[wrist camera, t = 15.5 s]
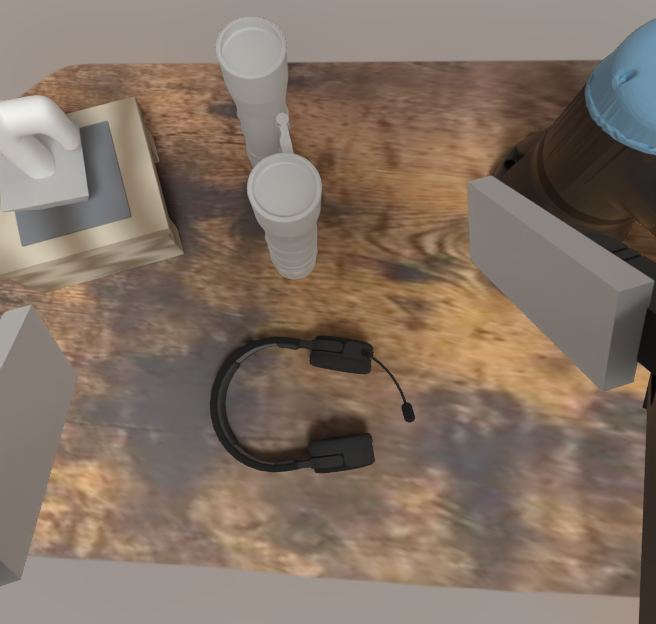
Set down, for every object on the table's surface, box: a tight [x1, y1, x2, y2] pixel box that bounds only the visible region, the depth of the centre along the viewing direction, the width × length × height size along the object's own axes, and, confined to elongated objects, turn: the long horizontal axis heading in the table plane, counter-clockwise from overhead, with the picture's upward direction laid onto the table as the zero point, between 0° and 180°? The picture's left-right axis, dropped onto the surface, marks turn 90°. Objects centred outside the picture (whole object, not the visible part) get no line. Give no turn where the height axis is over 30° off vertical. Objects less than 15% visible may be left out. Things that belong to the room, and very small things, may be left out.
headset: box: [210, 336, 415, 473], centre depth 48 cm, size 13×9×19 cm
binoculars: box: [216, 16, 322, 280], centre depth 47 cm, size 17×5×18 cm, turn 13°
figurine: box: [0, 95, 89, 212], centre depth 40 cm, size 7×9×15 cm
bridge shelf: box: [0, 97, 184, 293], centre depth 51 cm, size 16×14×8 cm
